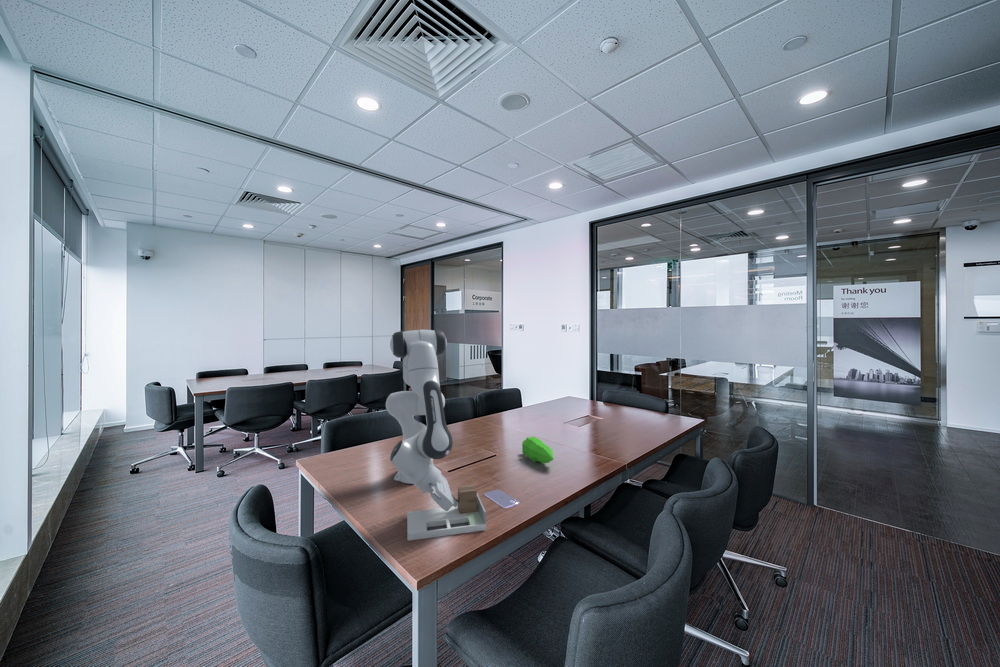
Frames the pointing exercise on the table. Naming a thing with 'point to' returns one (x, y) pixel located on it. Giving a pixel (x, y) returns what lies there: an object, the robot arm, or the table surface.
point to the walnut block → (467, 499)
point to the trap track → (444, 522)
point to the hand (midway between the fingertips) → (456, 504)
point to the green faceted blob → (537, 450)
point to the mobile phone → (501, 498)
